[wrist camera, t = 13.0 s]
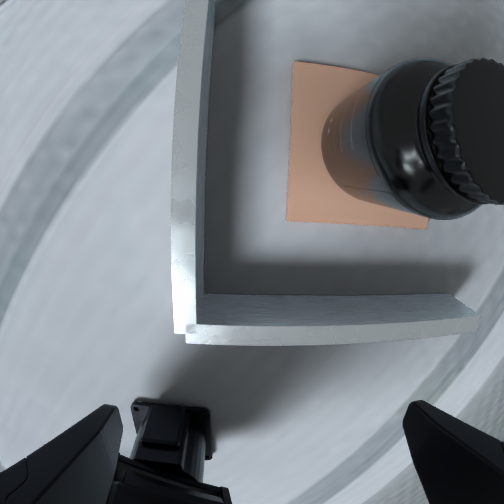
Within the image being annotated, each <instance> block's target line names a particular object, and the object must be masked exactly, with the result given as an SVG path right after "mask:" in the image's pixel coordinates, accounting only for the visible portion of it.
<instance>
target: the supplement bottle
mask: <svg viewBox="0 0 504 504" xmlns="http://www.w3.org/2000/svg"><path fill="white" fill-rule="evenodd" d="M321 151H322V157H323V161H324V164H325V166H326V169H327V171H328V173H329V174H330V176H331V178H332V179H333V181H334V182H335V183H336V184H337V185H338V186H339V187H340V188H341V189H342V190H343V191H344V192H346V193H347V194H349V195H350V196H352V197H354V198H356V199H359V200H362V201H365V202H368V203H372V204H376V205H380V206H384V207H388V208H392V209H396V210H400V211H404V212H408V213H411V214H415V215H419V216H423V217H427V218H431V219H438V220H452V219H457V218H461V217H464V216H466V215H468V214H470V213H472V212H473V211H475V210H476V209H478V208H479V207H480V206H481V205H482V204H489V203H490V204H495V205H504V65H503V64H502V63H497V62H495V61H494V60H493V59H489V60H487V59H485V58H478V59H470V60H468V61H465V62H463V63H460V64H457V65H453V64H451V63H448V62H446V61H443V60H439V59H435V58H414V59H410V60H406V61H404V62H402V63H399V64H398V65H396V66H394V67H392V68H391V69H389V70H387V71H386V72H384V73H383V74H381V75H380V76H378V77H377V78H375V79H374V80H372V81H371V82H369V83H368V84H366V85H365V86H364V87H362V88H361V89H359V90H358V91H356V92H355V93H353V94H352V95H350V96H349V97H348V98H346V99H345V100H344V101H342V102H341V103H340V104H339V105H337V106H336V107H335V108H334V109H333V111H332V112H331V113H330V115H329V116H328V118H327V120H326V122H325V124H324V127H323V131H322V136H321Z"/></svg>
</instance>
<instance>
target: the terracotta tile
mask: <svg viewBox="0 0 504 504" xmlns="http://www.w3.org/2000/svg"><path fill="white" fill-rule="evenodd" d="M378 76H380V75H377V74H373V73H368V72H363V71H358V70H352V69H347V68H341V67H335V66H328V65H321V64H314V63H306V62H297V61H294V62H293V64H292V91H291V121H290V146H289V168H288V187H287V205H286V220H287V221H297V222H318V223H337V224H354V225H371V226H386V227H401V228H415V229H427V228H428V220H429V218H427V217H423V216H419V215H415V214H411V213H408V212H404V211H400V210H396V209H392V208H388V207H384V206H380V205H376V204H372V203H368V202H365V201H362V200H359V199H356V198H354V197H352V196H350V195H349V194H347V193H346V192H344V191H343V190H342V189H341V188H340V187H339V186H338V185H337V184H336V183H335V182H334V181H333V179H332V178H331V176H330V174H329V173H328V171H327V169H326V166H325V164H324V161H323V157H322V151H321V136H322V131H323V127H324V124H325V122H326V120H327V118H328V116H329V115H330V113H331V112H332V111H333V109H334V108H335V107H336V106H337V105H339V104H340V103H341V102H342V101H344V100H345V99H346V98H348V97H349V96H350V95H352V94H353V93H355V92H356V91H358V90H359V89H361V88H362V87H364V86H365V85H366V84H368V83H369V82H371V81H372V80H374V79H375V78H377V77H378Z"/></svg>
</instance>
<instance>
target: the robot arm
mask: <svg viewBox="0 0 504 504" xmlns="http://www.w3.org/2000/svg"><path fill="white" fill-rule="evenodd" d="M136 407H138V408H136ZM131 412H132V416H133V421H134V425H135V429H136V433H137V437H136V440H135V443H134V446H133V449H132V452H131V456H130V458H127V457H125V456H122V455H120V453H119V448H120V443H121V438H122V433H123V425H122V421H121V417H120V413H119V410H118V408H117V406H114V405H108V404H104V405H102V406H100V407H99V408H98V409H96V410H95V411H93V412H92V413H90V414H89V415H88V416H86V417H85V418H83V419H82V420H80V421H79V422H77V423H76V424H75V425H73V426H72V427H70V428H69V429H67V430H66V431H64V432H63V433H61V434H60V435H58V436H57V437H55V438H54V439H52V440H51V441H49V442H48V443H47V444H45V445H44V446H42V447H41V448H39V449H37V450H36V451H34V452H33V453H31V454H30V455H28V456H27V459H26V458H24V459H22V460H21V461H19V462H17V463H16V464H14V465H13V466H11V467H9V468H8V469H6V470H4V471H2V472H0V504H232V501H231V498H230V494H229V490H228V488H226V487H217V486H213V485H209V484H205V483H203V472H204V460H211V459H212V437H211V416H210V410H209V409H207V408H201V407H185V406H172V405H162V404H152V403H143V402H133V403H132V405H131ZM202 413H205V414H202ZM403 429H404V432H405V436H406V439H407V443H408V446H409V450H410V454H411V457H412V460H413V463H414V466H415V469H416V471H417V474H418V476H419V479H420V481H421V484H422V486H423V489H424V491H425V494H426V496H427V499H428V502H429V504H504V442H502V441H500V440H498V439H496V438H494V437H492V436H490V435H488V434H486V433H484V432H482V431H480V430H478V429H476V428H474V427H472V426H470V425H469V424H467V423H465V422H463V421H461V420H459V419H457V418H455V417H453V416H451V415H449V414H447V413H446V412H444V411H442V410H440V409H438V408H436V407H434V406H432V405H431V404H429V403H427V402H425V401H423V400H418V401H413V402H411V403H410V404H409V406H408V409H407V411H406V414H405V416H404V419H403Z"/></svg>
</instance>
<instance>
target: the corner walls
mask: <svg viewBox="0 0 504 504" xmlns="http://www.w3.org/2000/svg"><path fill="white" fill-rule="evenodd" d="M215 15H216V12H215V5H214V0H185V7H184V14H183V22H182V30H181V39H180V48H179V58H178V69H177V80H176V93H175V107H174V124H173V144H172V174H171V263H172V293H173V314H174V331H175V333H181V334H186V343H190V344H212V345H248V346H297V345H333V344H354V343H371V342H385V341H398V340H409V339H419V338H429V337H438V336H446V335H454V334H462V333H469V332H476V331H477V328H478V325H479V322H480V318H481V315H479V314H478V313H476V312H475V311H474V310H472V309H471V308H469V307H468V306H466V305H465V304H463V303H462V302H460V301H459V300H457V299H456V298H454V297H453V296H451V295H450V294H448V293H442V294H411V295H356V296H298V295H240V294H208V293H204V216H205V176H206V149H207V127H208V108H209V91H210V76H211V62H212V49H213V37H214V26H215Z"/></svg>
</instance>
